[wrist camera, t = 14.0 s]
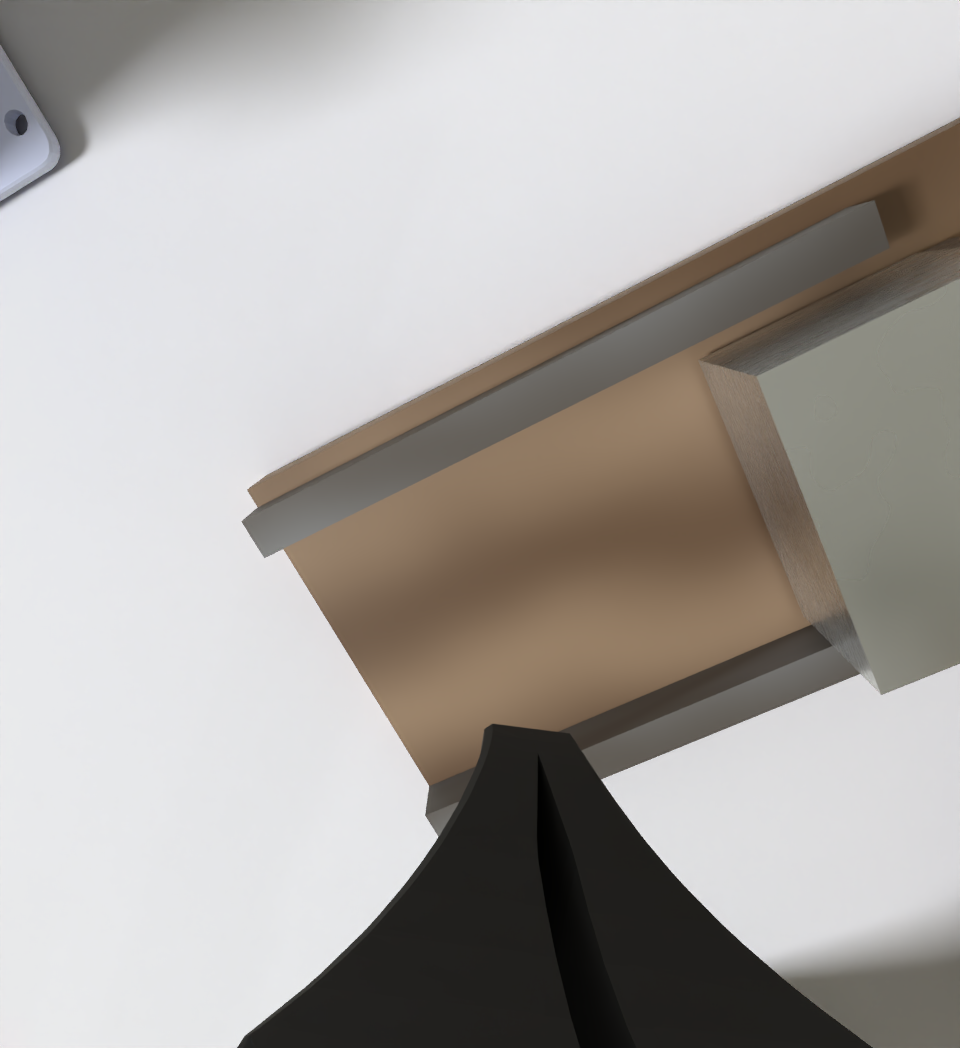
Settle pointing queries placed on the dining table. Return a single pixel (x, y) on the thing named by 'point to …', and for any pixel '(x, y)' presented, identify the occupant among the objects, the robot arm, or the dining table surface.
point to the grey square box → (861, 460)
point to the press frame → (591, 507)
